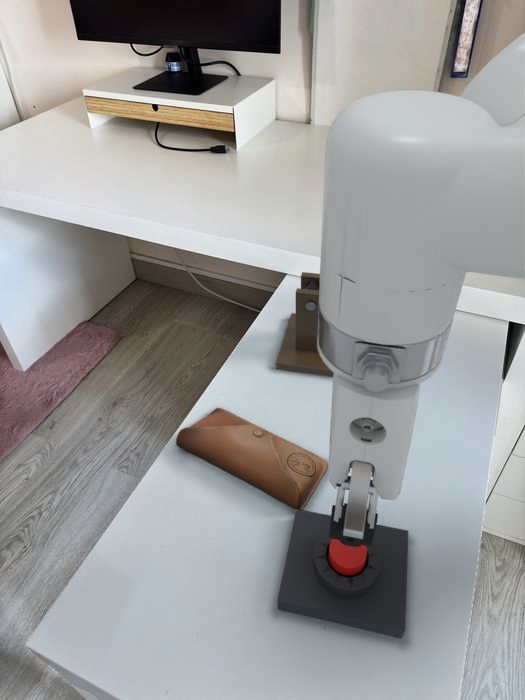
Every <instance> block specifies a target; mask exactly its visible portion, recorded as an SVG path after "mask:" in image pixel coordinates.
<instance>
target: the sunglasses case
mask: <svg viewBox="0 0 525 700" xmlns="http://www.w3.org/2000/svg"><path fill="white" fill-rule="evenodd" d="M175 444H176V446H177V447H178V448H179V449H181V450H183V451H184V452H186V453H188V454H190V455H192V456H194V457H197V458H199V459H201V460H202V461H204V462H206V463H208V464H210V465H212V466H214V467H215V468H217V469H220V470H222V471H223V472H225V473H228V474H229V475H231V476H232V477H235V478H236V479H239V480H240V481H242V482H244V483H245V484H247V485H249V486H251V487H253V488H255V489H257V490H259V491H261V492H262V493H264V494H266V495H267V496H269V497H271V498H273V499H275V500H276V501H278V502H280V503H282V504H284V505H285V506H287V507H290V508H292V510H295V511H296V510H297V509H300V510H304V509H305V507H306V506H307V505H308V503H309V501H310V500H311V498H312V496H313V495H314V493H315V491H316V489H317V488H318V487H319V484H320V482H321V480H323V479H322V478H323V477H324V475H325V474H326V472H327V470H328V467H329V463H328V461H326V459H323V458H322V457H321V456H319V455H317V454H315V453H314V452H311V451H309V450H307V449H305V448H303V447H301V446H300V445H297V444H295V443H293V442H291V441H289V440H287V439H285V438H283V437H281V436H278V435H277V434H275V433H272V432H270V431H269V430H267V429H265V428H263V427H262V426H259V425H256V424H254V423H252V422H250V421H248V420H246V419H245V418H242V417H240V416H238V415H236V414H235V413H232V412H230V411H228V410H227V409H225V408H223V407H216V408H214V409H213V410H212V411H211V412H210V413H209V414H208V415H207V416H205V417H204V418H202V419H200V420H199V421H197V422H195V423H193V424H192V425H190V426H187V427H184V428H182V429H180V430H179V432H178V434H177V436H176V439H175Z"/></svg>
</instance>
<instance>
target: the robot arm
mask: <svg viewBox="0 0 525 700" xmlns="http://www.w3.org/2000/svg"><path fill="white" fill-rule="evenodd" d="M324 153H325V154H324V167H323V190H322V213H321V214H322V216H321V238H320V259H319V260H320V263H319V274H320V288H319V313H318V335H317V348H318V352H319V354H320V357H321V358H322V360H323V362H324V363H325V364H326V365H327V367H328V368H329V369H330V370H332V371H333V372H334V377H333V376H332V377H333V378H332V390H331V391H332V392H331V407H330V408H331V409H330V425H329V426H330V427H329V443H328V449H329V450H328V482H329V484H330V485H331V486H332V487H333V489H335V490H337V492H336V499H335V504H332V505H331V506H332V507H331V513H330V516H331V523H330V533H329V536H330V537H331V538H332V539H336V540H340V542H341V543H342V544H344V545H347V546H352V547H359V546H361V545H365V546H371V545H372V542H373V538H374V533H375V529H376V524H377V523H378V517H379V513H377V506H378V501H379V498H380V499H382V500H388V501H395V500H396V499H397V498H398V497H399V496H400V495H401V492H402V488H403V487H402V486H403V481H404V476H405V471H406V467H407V462H408V458H409V452H410V448H411V442H412V438H413V433H414V427H415V422H416V417H417V411H418V405H419V400H420V399H419V398H420V391H421V383H423V382H425V381H427V380H428V379H429V378H431V377H432V376H433V375H434V374H435V373H436V372H437V371H438V369H439V368H440V366H441V364H442V360H443V358H444V354H445V352H446V346H447V343H448V341H449V335H450V332H451V329H452V325H453V321H454V317H455V314H456V311H457V307H458V303H459V300H460V296H461V293H462V289H463V285H464V282H465V279H466V275H467V273H475V274H482V275H490V276H496V277H503V278H509V279H517V280H522V281H525V31H524V32H523V33H522V34H520V35H519V36H518V37H517V38H515V39H514V40H512V41H511V42H510V43H509V44H508V45H507V46H506V47H505V48H503V49H502V50H501V51H500V52H498V54H496V55H495V56H494V57H493V58H491V59H490V60H489V61H488V63H486V64H485V65H484V66H483V67H482V68H481V69H480V71H479V72H478V73H477V74H476V75H475V76H474V77H473V78H472V80H471V81H470V82H469V83H468V84H467V85H466V87H465V88H464V89H463V90H462V92H461V94H460V95H459V96H457V95H454V94H451V93H445V92H441V91H440V92H439V91H431V90H418V89H415V90H414V89H410V90H407V89H406V90H405V89H404V90H393V91H385V92H380V93H374V94H371V95H367V96H364V97H362V98H359V99H356V100H354V101H352V102H350V103H349V104H347V106H345V107H343V109H341V110H340V111H339V112H338V113H337V115H336V117H335V118H334V119H333V120H332V122H331V124H330V126H329V129H328V133H327V136H326V139H325V151H324ZM350 473H351V474H350ZM349 474H350V475H349ZM371 478H372V479H371ZM346 491H348V494H347V495H348V496H347V502H345V495H346ZM377 525H378V524H377Z"/></svg>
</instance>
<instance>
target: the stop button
mask: <svg viewBox="0 0 525 700" xmlns="http://www.w3.org/2000/svg"><path fill="white" fill-rule="evenodd" d="M366 556H367V548H366V546H365V545H361V546H359V547H352V546H347V545H344V544H342V543H341V542H340V540H336V539H332V541H331V543H330V547H329V562H330V564H331V566H332V567H333V569H334V570H335V571H337V572H338V573H340V574H342V575H346V576H352V575H356V574H358V573H359V572H360V571H361V570H362V569H363V567H364V565H365V561H366Z"/></svg>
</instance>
